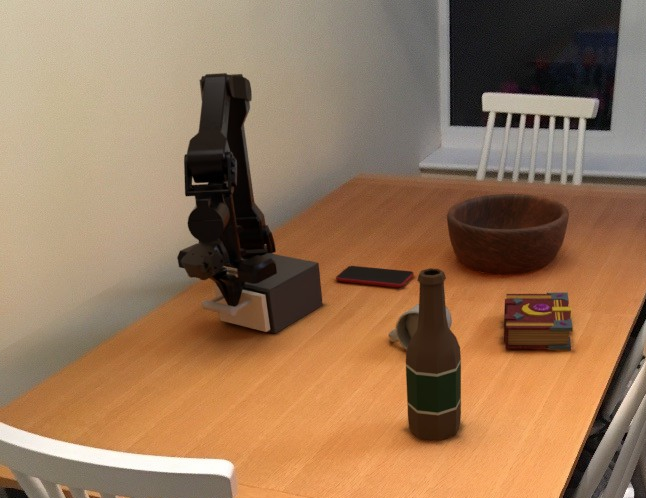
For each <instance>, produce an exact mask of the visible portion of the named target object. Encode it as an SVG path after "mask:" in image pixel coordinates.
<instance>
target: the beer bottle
mask: <svg viewBox="0 0 646 498" xmlns="http://www.w3.org/2000/svg"><path fill="white" fill-rule="evenodd" d="M446 279H447V276H446V273H445V271H443V270H441V269H440V268H433V267H431V268H425V269H423V270H420V272H419V273H418V276H417V280H416V281H417V282H418V283H419V296H418V304H419V320H418V326H417V331H416V332H415V334H414V335H413V337H412V338H411V340H410V342H409V345H408V348H407V350H406V351H405V380H406V402H407V403H406V404H407V405H406V406H407V421H408V429H409V430H410V432H411V433H412V434H414V436H416V437H417V438H418V439H419V440H424V441H425V440H426V441H432V442H440V441H442V440H446V439H450V438H452V437H455V436H456V434H457V432H458V430H459V428H460V425H461V417H462V355H461V346H460V344H459V341H458V339H457V337H456V335H455V334H454V332H453V331H452V330H451V328H450V329H449V327H448V322H447V318H446V307H447V305H446V295H445V281H446Z"/></svg>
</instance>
